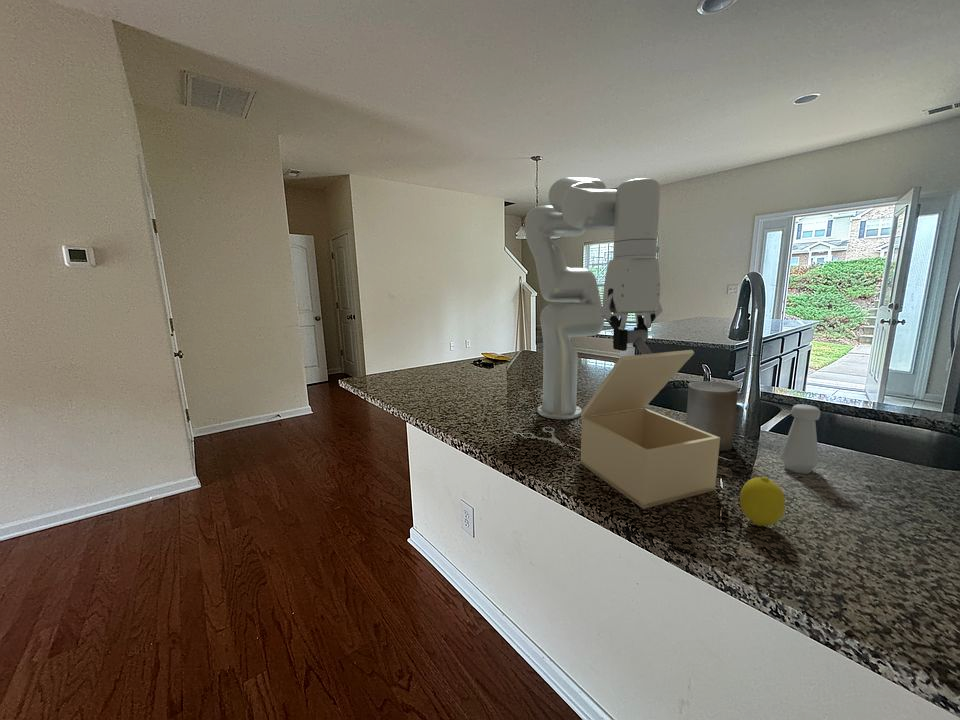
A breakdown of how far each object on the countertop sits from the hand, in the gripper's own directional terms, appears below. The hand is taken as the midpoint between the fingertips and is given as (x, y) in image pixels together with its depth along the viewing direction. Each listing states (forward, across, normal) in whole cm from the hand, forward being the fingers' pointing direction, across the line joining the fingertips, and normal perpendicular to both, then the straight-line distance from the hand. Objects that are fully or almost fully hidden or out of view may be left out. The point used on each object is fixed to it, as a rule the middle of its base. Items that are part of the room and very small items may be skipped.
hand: (629, 348), depth 76 cm
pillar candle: (+25, -25, -2) cm, 35 cm away
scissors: (+25, +7, -16) cm, 30 cm away
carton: (+24, 0, +5) cm, 25 cm away
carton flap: (+7, 0, +2) cm, 8 cm away
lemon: (+25, -5, +24) cm, 35 cm away
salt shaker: (+25, -30, +14) cm, 41 cm away
